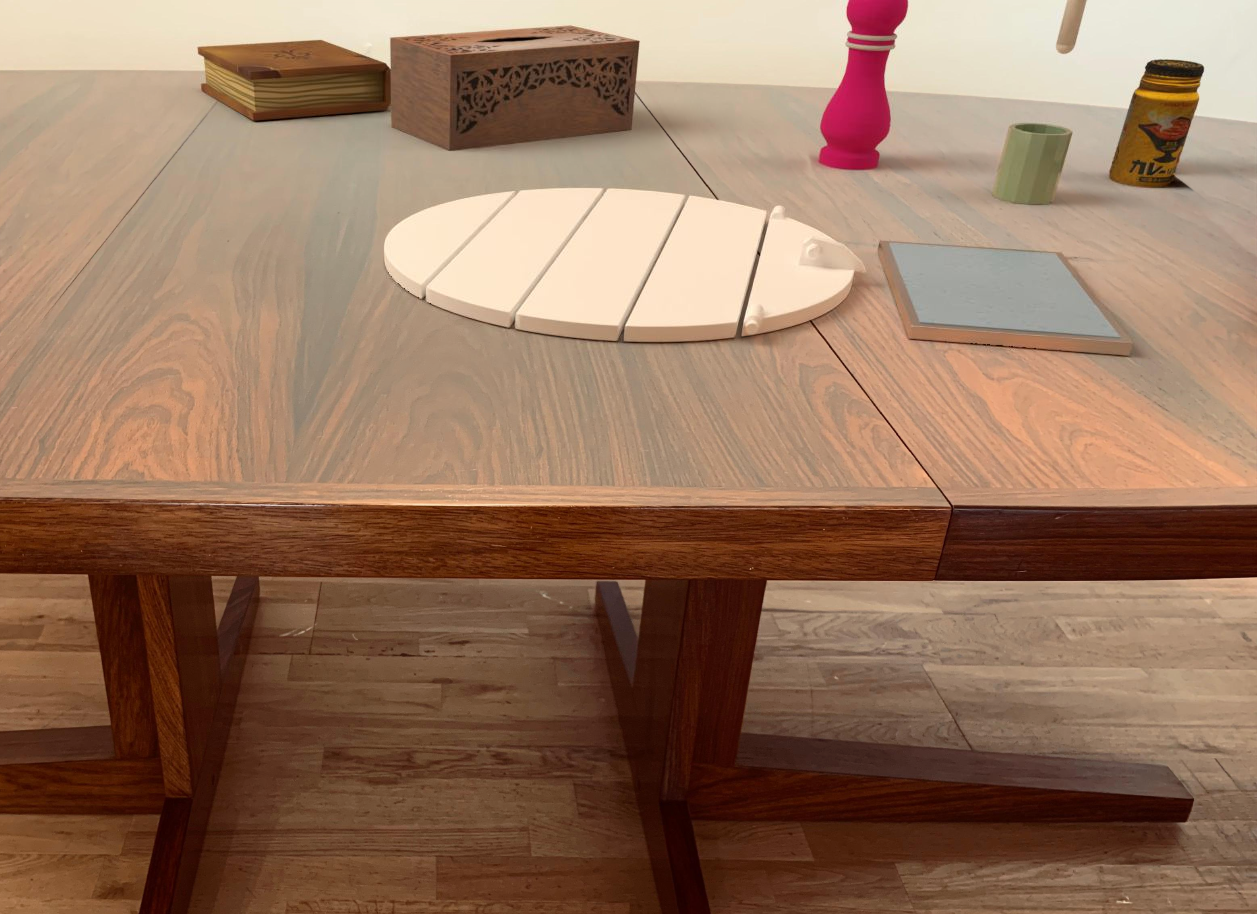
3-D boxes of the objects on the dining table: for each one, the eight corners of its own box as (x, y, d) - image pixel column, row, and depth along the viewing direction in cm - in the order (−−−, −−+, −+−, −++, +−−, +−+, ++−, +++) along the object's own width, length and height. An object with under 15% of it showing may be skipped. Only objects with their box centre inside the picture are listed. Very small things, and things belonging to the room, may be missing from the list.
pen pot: (1044, 196, 122) (1064, 124, 118) (1057, 211, 117) (1078, 136, 113) (986, 193, 123) (1004, 121, 119) (996, 207, 118) (1016, 133, 114)
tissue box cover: (449, 150, 136) (450, 55, 131) (391, 126, 147) (390, 37, 141) (631, 129, 147) (639, 40, 142) (565, 108, 157) (570, 25, 152)
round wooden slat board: (863, 221, 113) (870, 184, 111) (862, 371, 81) (872, 322, 79) (457, 186, 122) (457, 151, 121) (314, 307, 91) (312, 263, 89)
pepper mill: (811, 171, 130) (847, -36, 119) (815, 157, 135) (850, -42, 125) (880, 177, 128) (923, -33, 117) (882, 163, 133) (923, -39, 123)
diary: (392, 111, 155) (391, 62, 152) (253, 122, 148) (250, 72, 145) (328, 81, 172) (326, 37, 169) (201, 90, 165) (197, 45, 162)
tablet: (1058, 263, 103) (1062, 251, 102) (1129, 356, 84) (1134, 342, 84) (877, 251, 105) (879, 239, 104) (908, 339, 87) (911, 324, 86)
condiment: (1158, 197, 122) (1199, 70, 116) (1074, 181, 127) (1110, 59, 121) (1184, 185, 126) (1226, 63, 120) (1103, 170, 132) (1138, 52, 125)
